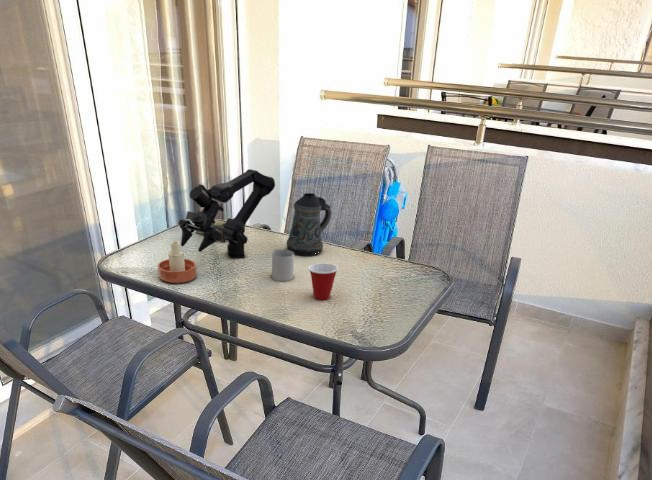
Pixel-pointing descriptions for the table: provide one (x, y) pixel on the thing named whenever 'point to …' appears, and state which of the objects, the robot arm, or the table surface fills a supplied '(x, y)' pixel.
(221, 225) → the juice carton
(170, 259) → the bottle
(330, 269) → the plastic cup
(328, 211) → the beer stein
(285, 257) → the cup
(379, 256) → the table surface
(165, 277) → the bowl
